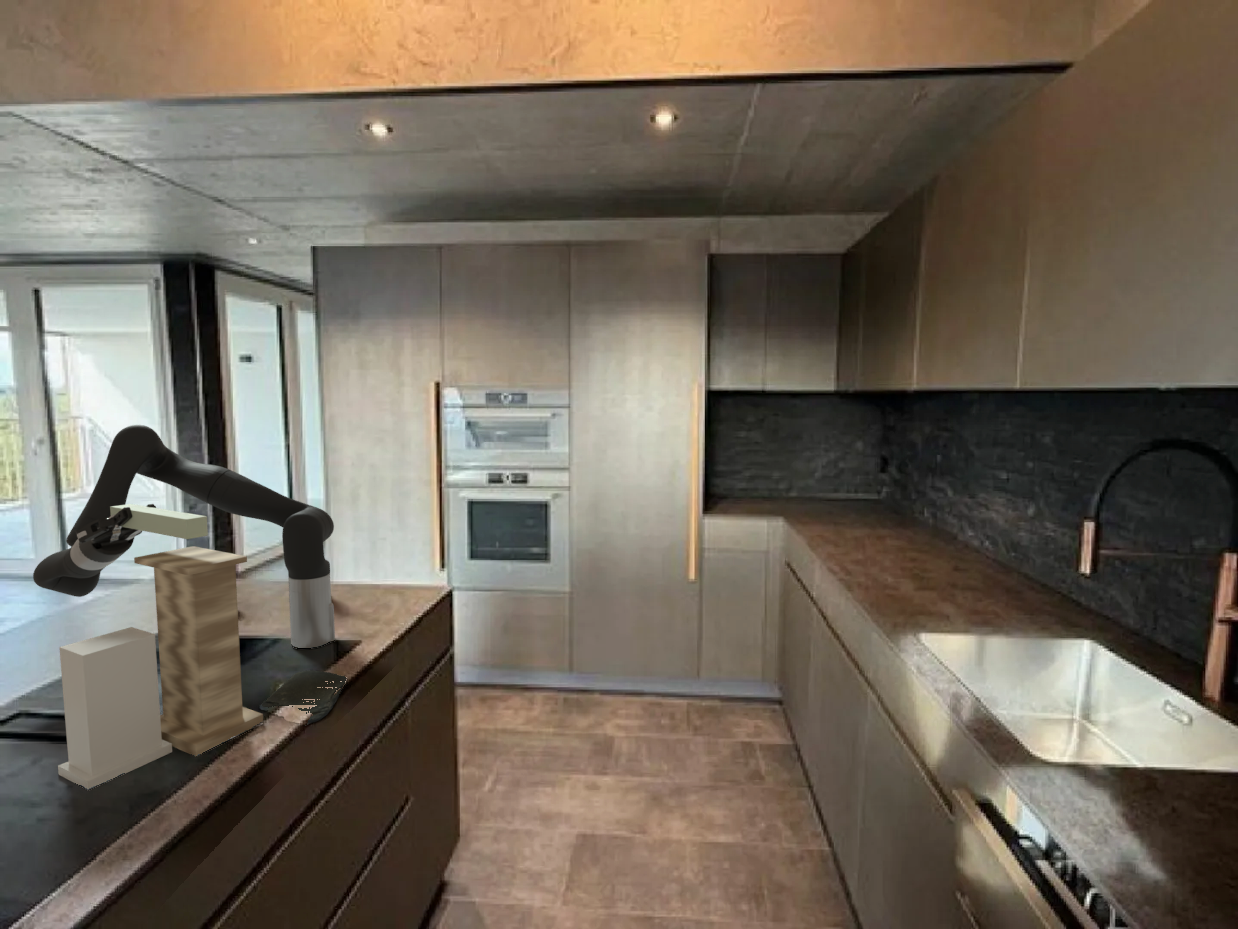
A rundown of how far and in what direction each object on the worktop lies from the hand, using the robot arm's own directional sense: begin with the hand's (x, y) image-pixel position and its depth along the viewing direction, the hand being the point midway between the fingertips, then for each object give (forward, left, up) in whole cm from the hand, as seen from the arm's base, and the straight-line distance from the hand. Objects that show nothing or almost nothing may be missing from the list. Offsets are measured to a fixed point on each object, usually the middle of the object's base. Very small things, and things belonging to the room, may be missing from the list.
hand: (141, 510), depth 118 cm
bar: (-2, +5, -3) cm, 6 cm away
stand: (-6, +13, -39) cm, 42 cm away
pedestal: (+6, +18, -39) cm, 44 cm away
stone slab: (-24, +12, -40) cm, 48 cm away
